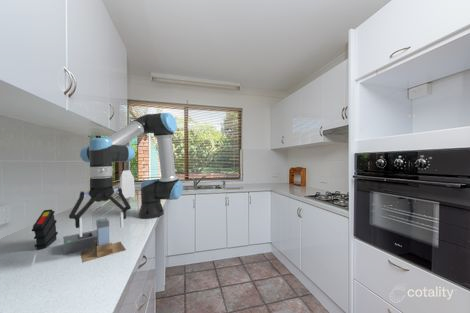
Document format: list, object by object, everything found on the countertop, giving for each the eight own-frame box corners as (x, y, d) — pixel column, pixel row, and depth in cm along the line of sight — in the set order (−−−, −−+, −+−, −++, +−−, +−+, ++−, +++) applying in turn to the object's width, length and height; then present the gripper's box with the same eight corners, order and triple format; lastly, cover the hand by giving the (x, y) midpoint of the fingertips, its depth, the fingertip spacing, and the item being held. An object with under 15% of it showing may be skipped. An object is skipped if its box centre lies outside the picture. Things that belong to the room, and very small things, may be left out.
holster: (120, 243, 90) (120, 233, 90) (126, 252, 81) (126, 241, 81) (80, 254, 81) (80, 242, 81) (82, 265, 72) (82, 252, 72)
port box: (103, 239, 95) (102, 228, 95) (106, 246, 88) (106, 234, 88) (63, 248, 86) (63, 236, 86) (63, 257, 79) (63, 243, 79)
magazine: (60, 233, 100) (53, 208, 94) (49, 256, 89) (40, 229, 83) (50, 234, 99) (43, 209, 93) (38, 257, 87) (28, 231, 81)
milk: (132, 195, 209) (131, 169, 209) (135, 197, 200) (134, 170, 200) (119, 197, 202) (118, 170, 201) (121, 198, 192) (120, 171, 192)
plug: (107, 247, 84) (106, 218, 84) (109, 251, 80) (109, 220, 80) (97, 250, 82) (96, 220, 82) (98, 254, 78) (98, 223, 78)
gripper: (59, 180, 70) (60, 243, 70) (137, 175, 86) (138, 226, 86) (60, 179, 76) (60, 237, 76) (133, 174, 92) (134, 222, 92)
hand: (102, 231), depth 81 cm, fingers open, 13 cm apart
